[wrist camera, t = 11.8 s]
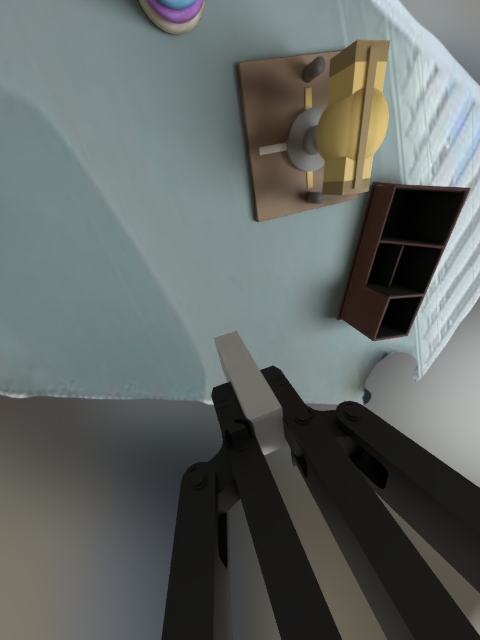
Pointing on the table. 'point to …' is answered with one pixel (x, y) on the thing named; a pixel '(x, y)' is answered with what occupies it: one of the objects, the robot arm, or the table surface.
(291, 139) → the base
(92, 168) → the table surface
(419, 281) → the desk organizer
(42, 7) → the table surface
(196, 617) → the robot arm
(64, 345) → the table surface
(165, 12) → the stacking toy
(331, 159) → the yellow block with ball
